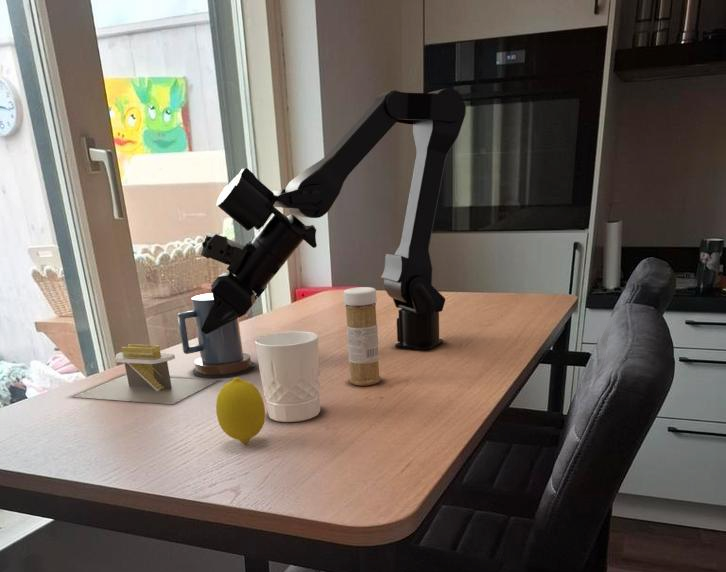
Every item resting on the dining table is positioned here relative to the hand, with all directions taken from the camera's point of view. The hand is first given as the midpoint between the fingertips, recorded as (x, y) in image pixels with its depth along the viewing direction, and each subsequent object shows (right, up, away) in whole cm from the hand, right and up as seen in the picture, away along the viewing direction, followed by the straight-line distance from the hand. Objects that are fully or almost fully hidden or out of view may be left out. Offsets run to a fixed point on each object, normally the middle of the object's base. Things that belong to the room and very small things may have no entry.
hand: (209, 326), depth 112 cm
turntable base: (+2, -6, +3) cm, 7 cm away
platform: (-8, -11, -5) cm, 15 cm away
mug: (+2, -6, +3) cm, 7 cm away
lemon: (+11, -21, -29) cm, 37 cm away
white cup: (+16, -16, -20) cm, 30 cm away
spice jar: (+25, -10, -9) cm, 28 cm away
